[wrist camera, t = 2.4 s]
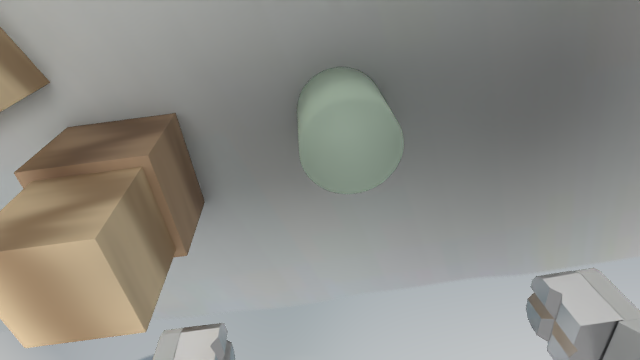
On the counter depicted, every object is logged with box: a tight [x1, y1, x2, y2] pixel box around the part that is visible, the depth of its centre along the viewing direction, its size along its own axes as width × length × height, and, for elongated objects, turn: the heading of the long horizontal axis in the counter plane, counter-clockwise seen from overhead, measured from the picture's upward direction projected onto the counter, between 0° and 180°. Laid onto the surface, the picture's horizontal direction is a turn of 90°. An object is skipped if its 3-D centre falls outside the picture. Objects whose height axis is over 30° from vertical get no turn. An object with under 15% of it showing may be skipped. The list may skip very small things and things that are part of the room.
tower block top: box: [0, 167, 176, 348], centre depth 17 cm, size 5×5×5 cm
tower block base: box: [14, 113, 204, 257], centre depth 21 cm, size 6×6×5 cm
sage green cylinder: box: [297, 67, 404, 194], centre depth 20 cm, size 5×5×5 cm
